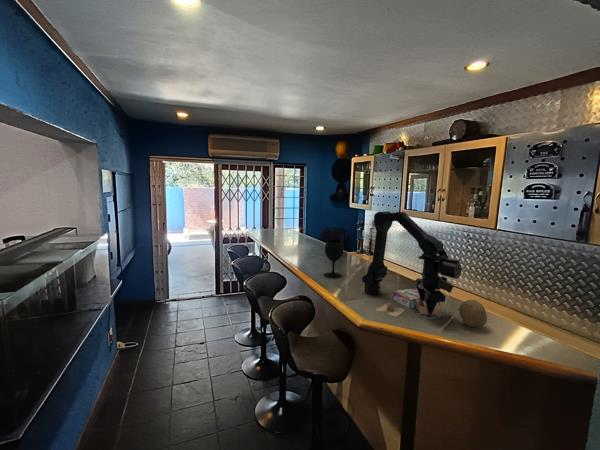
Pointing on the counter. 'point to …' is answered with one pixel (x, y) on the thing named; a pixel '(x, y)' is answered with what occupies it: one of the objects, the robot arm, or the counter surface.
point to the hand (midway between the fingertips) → (427, 309)
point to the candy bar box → (407, 297)
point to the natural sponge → (473, 313)
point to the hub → (426, 314)
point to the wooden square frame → (423, 309)
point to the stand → (390, 309)
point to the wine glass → (333, 255)
